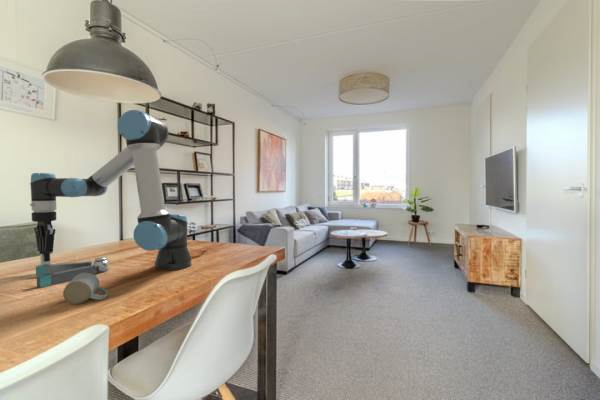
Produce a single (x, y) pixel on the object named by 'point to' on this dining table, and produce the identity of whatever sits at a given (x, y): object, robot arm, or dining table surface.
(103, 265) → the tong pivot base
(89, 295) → the ceramic mug
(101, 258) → the tong swing arm
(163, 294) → the dining table surface
